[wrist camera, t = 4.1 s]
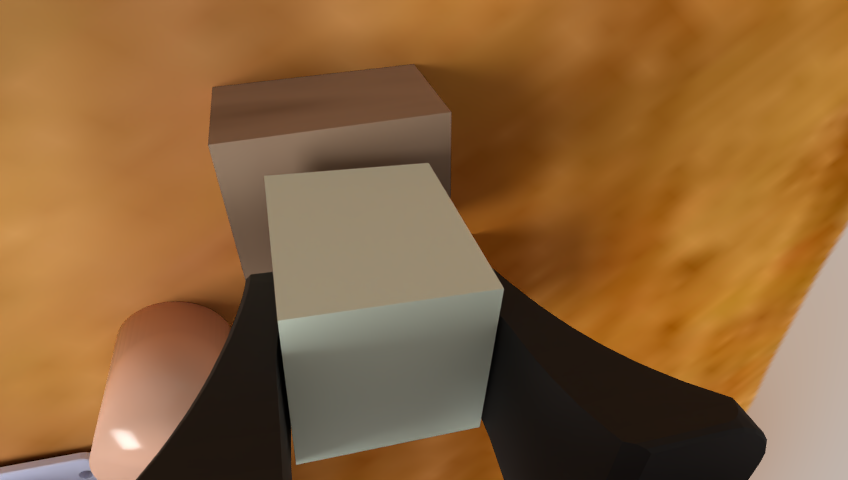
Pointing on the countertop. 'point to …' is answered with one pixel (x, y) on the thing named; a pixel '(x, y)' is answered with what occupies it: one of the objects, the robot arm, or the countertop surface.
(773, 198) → the countertop surface
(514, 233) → the countertop surface
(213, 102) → the walnut block
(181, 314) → the terracotta cylinder
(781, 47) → the countertop surface
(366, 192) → the sage block
